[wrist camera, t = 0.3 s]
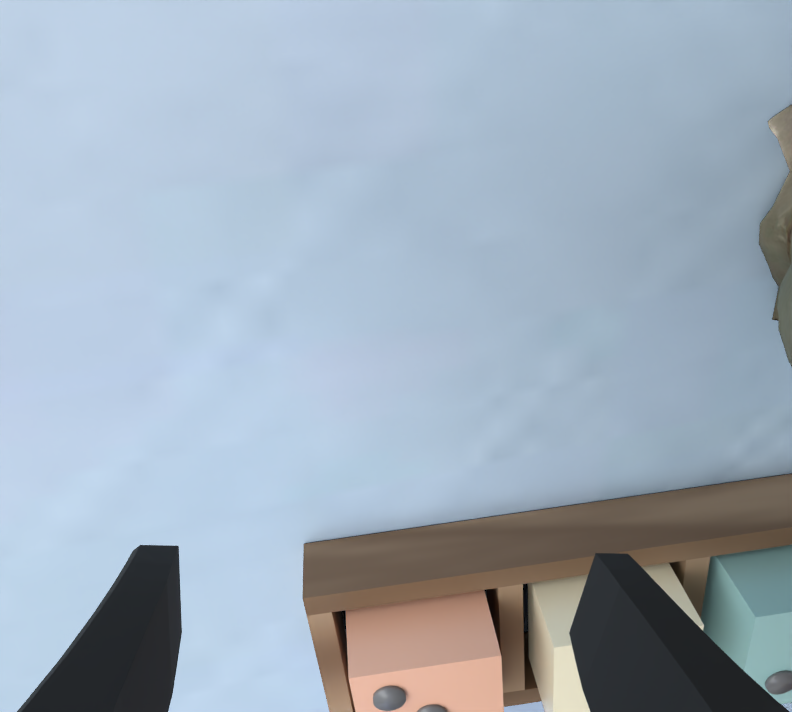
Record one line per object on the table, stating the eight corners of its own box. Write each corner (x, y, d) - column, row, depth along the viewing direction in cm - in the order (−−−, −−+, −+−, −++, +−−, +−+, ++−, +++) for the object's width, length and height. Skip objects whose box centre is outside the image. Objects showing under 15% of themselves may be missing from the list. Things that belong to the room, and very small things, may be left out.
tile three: (485, 663, 27) (506, 750, 24) (361, 682, 27) (367, 772, 24) (480, 574, 25) (502, 659, 22) (344, 594, 25) (348, 683, 22)
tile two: (813, 614, 27) (872, 694, 25) (693, 632, 27) (737, 715, 24) (838, 522, 25) (906, 599, 22) (707, 541, 25) (758, 621, 22)
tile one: (650, 638, 27) (690, 722, 24) (528, 657, 27) (553, 743, 24) (660, 548, 25) (706, 629, 22) (527, 568, 25) (555, 651, 22)
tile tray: (816, 602, 29) (854, 653, 27) (333, 674, 29) (334, 732, 27) (853, 464, 26) (901, 511, 24) (303, 543, 25) (302, 598, 23)
